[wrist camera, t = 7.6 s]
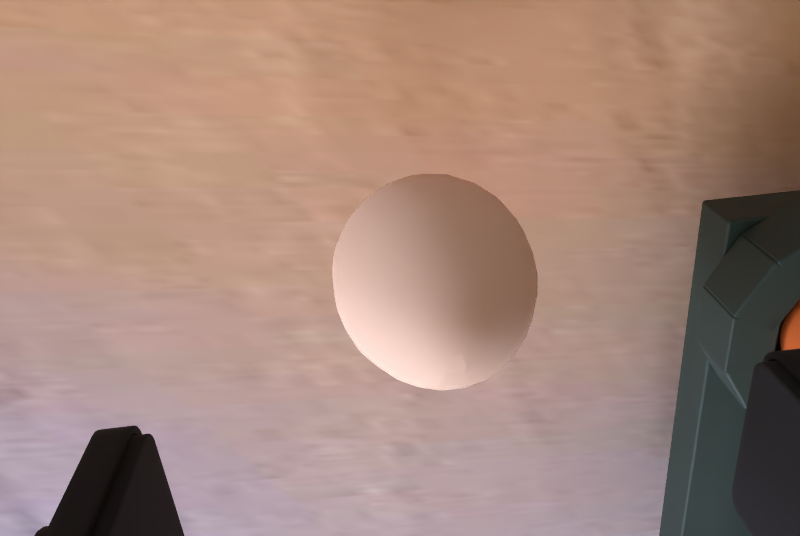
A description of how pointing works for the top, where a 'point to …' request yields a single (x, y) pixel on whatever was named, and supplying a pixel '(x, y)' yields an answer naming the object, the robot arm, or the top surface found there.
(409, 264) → the egg
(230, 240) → the top surface
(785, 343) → the button
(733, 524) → the scale
